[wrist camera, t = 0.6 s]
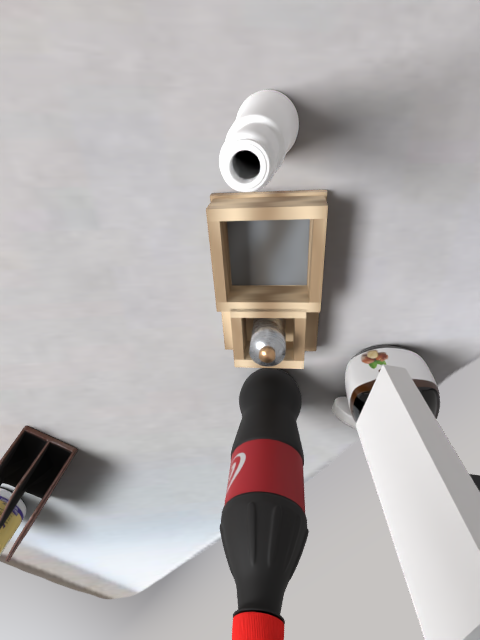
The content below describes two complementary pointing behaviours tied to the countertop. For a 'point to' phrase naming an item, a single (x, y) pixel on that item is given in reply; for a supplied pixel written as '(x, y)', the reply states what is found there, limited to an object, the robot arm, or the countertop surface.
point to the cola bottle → (264, 503)
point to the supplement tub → (10, 518)
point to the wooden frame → (268, 266)
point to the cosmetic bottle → (258, 140)
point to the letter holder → (33, 471)
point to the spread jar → (365, 373)
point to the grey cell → (268, 341)
